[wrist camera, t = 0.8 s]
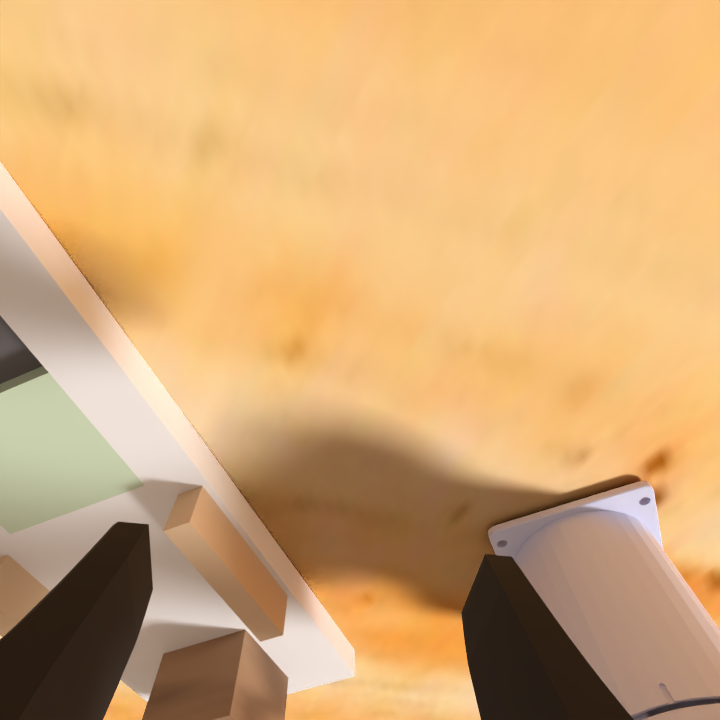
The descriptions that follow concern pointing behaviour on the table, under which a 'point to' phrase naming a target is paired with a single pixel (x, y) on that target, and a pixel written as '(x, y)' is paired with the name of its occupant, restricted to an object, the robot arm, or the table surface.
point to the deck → (127, 477)
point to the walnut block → (218, 682)
